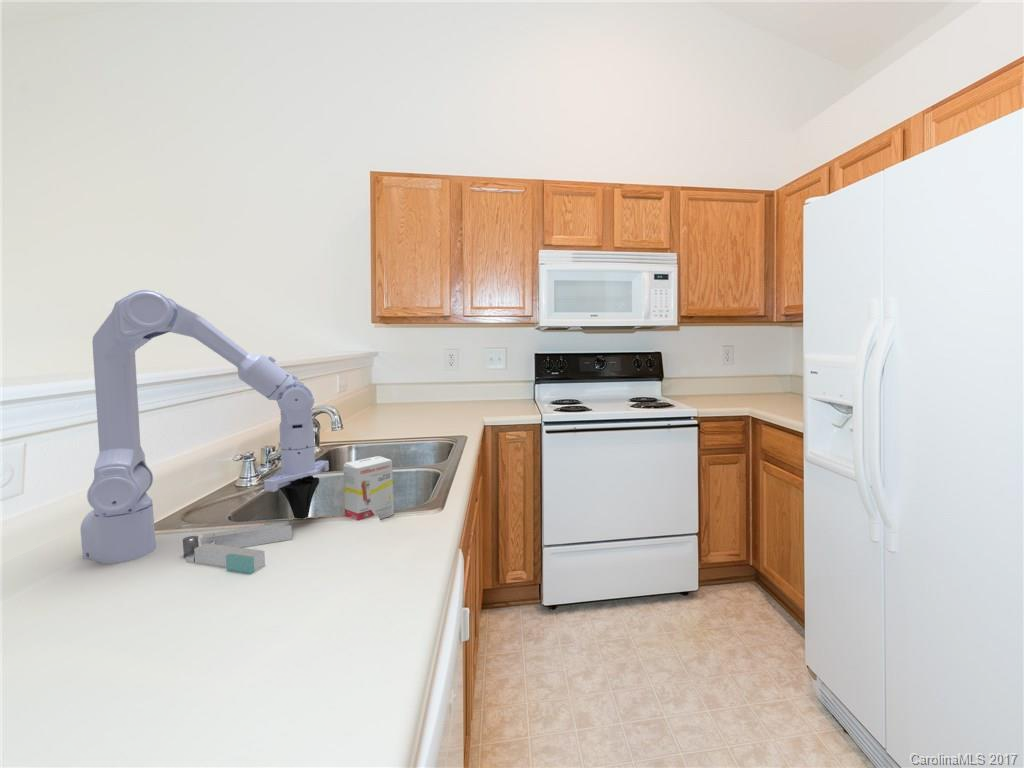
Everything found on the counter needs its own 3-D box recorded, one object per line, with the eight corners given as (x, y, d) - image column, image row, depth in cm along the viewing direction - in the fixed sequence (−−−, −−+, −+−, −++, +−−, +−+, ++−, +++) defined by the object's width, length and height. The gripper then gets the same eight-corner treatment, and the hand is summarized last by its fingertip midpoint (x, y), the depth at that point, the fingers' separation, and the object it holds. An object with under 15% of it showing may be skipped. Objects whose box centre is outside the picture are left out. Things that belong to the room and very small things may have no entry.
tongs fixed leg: (170, 563, 70) (168, 544, 70) (192, 552, 73) (191, 535, 73) (250, 575, 66) (249, 555, 65) (270, 563, 69) (269, 544, 69)
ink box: (358, 528, 86) (355, 467, 85) (344, 522, 89) (341, 463, 88) (395, 515, 92) (393, 458, 92) (381, 510, 96) (379, 455, 95)
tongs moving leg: (201, 553, 73) (200, 538, 72) (205, 546, 75) (204, 532, 75) (291, 539, 78) (291, 525, 77) (292, 533, 80) (292, 520, 80)
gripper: (286, 456, 76) (290, 534, 77) (340, 440, 90) (343, 506, 91) (252, 454, 78) (257, 530, 79) (310, 438, 92) (314, 503, 93)
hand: (301, 517), depth 85 cm, fingers closed
